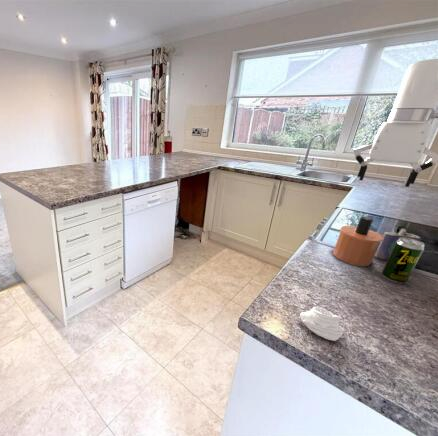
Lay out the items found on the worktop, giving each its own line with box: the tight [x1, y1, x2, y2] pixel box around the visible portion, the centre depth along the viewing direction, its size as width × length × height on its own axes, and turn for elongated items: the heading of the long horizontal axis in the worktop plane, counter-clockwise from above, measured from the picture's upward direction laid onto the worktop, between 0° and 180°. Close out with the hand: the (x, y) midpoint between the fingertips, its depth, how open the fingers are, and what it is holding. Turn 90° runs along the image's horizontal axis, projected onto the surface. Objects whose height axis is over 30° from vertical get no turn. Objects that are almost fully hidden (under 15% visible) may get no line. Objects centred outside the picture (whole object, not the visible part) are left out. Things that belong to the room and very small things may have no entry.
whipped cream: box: [299, 306, 346, 342], centre depth 53 cm, size 8×7×5 cm
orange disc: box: [339, 216, 384, 243], centre depth 76 cm, size 11×11×6 cm
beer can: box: [381, 237, 426, 285], centre depth 68 cm, size 5×5×12 cm
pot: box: [333, 231, 380, 267], centre depth 79 cm, size 10×10×8 cm
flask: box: [374, 229, 422, 261], centre depth 78 cm, size 9×3×11 cm, turn 74°
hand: (382, 182), depth 69 cm, fingers open, 9 cm apart
